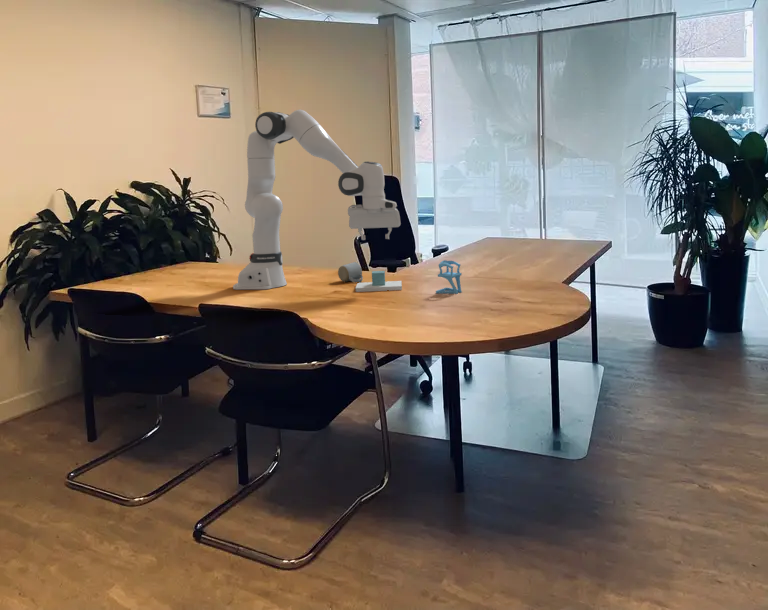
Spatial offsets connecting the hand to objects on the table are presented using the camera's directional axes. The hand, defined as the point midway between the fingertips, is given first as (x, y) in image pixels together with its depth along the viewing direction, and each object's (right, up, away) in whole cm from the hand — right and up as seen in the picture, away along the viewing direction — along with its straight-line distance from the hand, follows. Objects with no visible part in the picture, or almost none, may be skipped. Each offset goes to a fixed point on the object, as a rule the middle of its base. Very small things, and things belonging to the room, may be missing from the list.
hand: (375, 239), depth 255 cm
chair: (+28, -21, -13) cm, 37 cm away
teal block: (+1, -18, +2) cm, 18 cm away
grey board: (+1, -19, +3) cm, 19 cm away
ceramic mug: (-10, -16, +22) cm, 29 cm away
